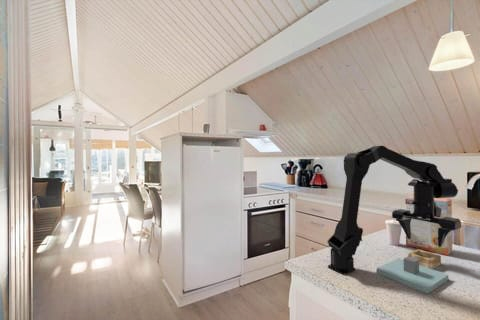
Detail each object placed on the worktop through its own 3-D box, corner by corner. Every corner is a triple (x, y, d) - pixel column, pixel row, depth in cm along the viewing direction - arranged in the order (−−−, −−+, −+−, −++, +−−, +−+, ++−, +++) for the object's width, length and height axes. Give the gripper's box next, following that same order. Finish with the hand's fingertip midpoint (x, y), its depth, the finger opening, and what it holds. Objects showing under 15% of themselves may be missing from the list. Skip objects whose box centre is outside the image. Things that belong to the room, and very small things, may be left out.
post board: (376, 272, 77) (376, 256, 77) (398, 262, 84) (398, 247, 84) (427, 293, 65) (427, 274, 65) (448, 279, 72) (448, 261, 72)
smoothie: (383, 244, 101) (383, 211, 101) (387, 240, 106) (386, 209, 106) (401, 248, 97) (401, 214, 97) (404, 243, 102) (404, 211, 102)
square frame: (408, 261, 85) (408, 253, 85) (417, 257, 88) (417, 249, 88) (431, 269, 79) (431, 260, 79) (440, 264, 82) (440, 255, 82)
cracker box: (452, 252, 92) (452, 198, 92) (447, 256, 89) (447, 200, 88) (411, 242, 104) (410, 194, 103) (405, 245, 100) (404, 196, 100)
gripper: (467, 200, 79) (467, 246, 80) (405, 193, 95) (406, 231, 96) (454, 204, 74) (454, 253, 74) (391, 195, 90) (391, 236, 90)
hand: (423, 242), depth 84 cm, fingers open, 9 cm apart
